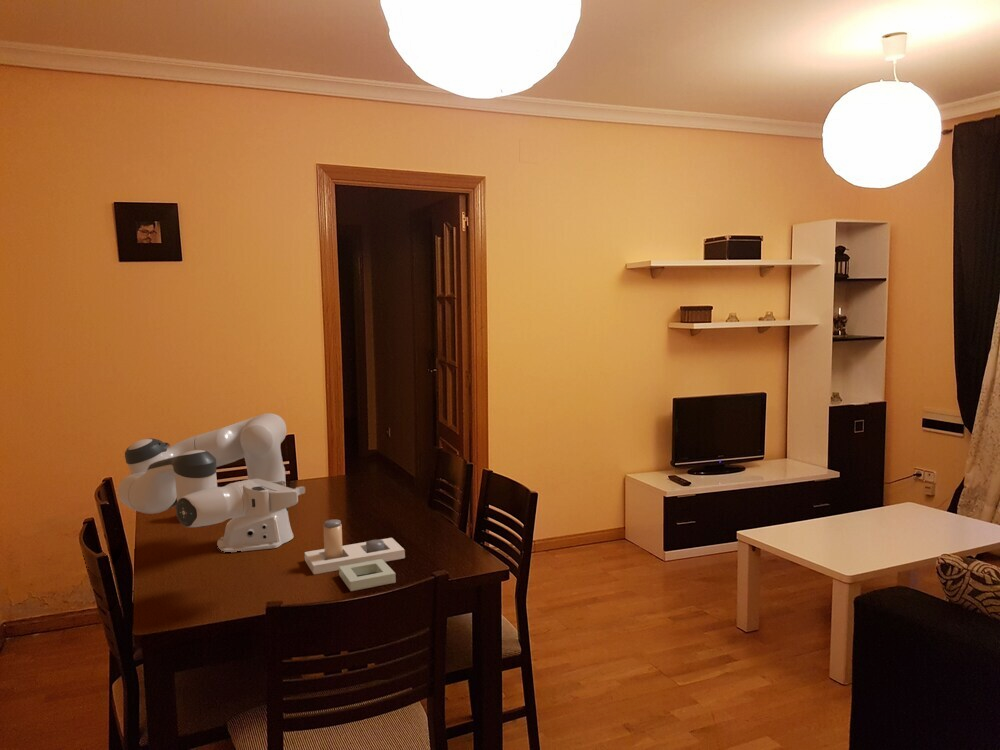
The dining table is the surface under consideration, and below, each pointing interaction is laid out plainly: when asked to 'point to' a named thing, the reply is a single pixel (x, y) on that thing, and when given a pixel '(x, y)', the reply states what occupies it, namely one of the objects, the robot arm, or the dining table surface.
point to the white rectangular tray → (355, 555)
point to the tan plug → (333, 539)
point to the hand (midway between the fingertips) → (293, 486)
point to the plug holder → (379, 578)
